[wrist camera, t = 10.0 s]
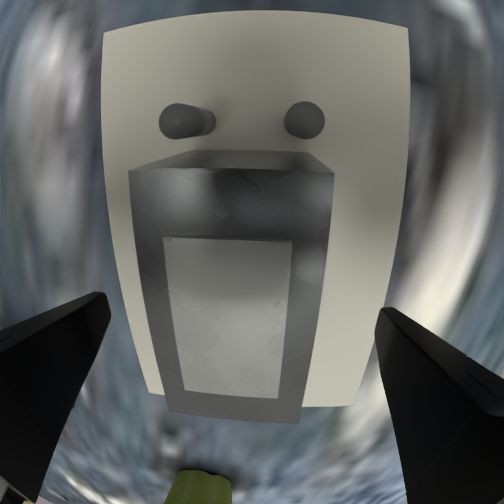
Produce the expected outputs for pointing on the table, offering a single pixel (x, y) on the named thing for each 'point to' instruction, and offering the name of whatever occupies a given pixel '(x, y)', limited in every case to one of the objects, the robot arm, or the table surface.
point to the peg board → (271, 147)
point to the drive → (233, 276)
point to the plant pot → (199, 489)
